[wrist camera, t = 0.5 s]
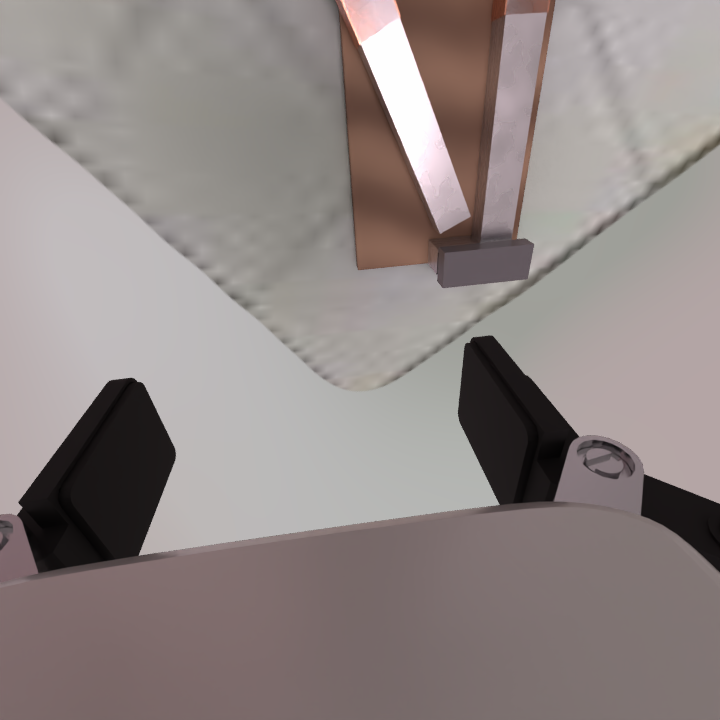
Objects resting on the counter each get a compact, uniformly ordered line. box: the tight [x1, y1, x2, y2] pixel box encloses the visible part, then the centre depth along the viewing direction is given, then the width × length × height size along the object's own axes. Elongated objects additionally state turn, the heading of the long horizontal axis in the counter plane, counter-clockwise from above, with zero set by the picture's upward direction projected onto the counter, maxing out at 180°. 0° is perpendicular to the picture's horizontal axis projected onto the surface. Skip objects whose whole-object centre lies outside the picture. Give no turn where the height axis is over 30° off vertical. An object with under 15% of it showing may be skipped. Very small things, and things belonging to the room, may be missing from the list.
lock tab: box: [437, 239, 534, 288], centre depth 32 cm, size 3×7×2 cm, turn 94°
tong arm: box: [335, 0, 471, 234], centre depth 28 cm, size 19×3×2 cm, turn 29°
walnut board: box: [339, 0, 555, 270], centre depth 30 cm, size 23×15×1 cm, turn 4°
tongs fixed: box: [428, 0, 550, 274], centre depth 29 cm, size 22×7×3 cm, turn 4°
